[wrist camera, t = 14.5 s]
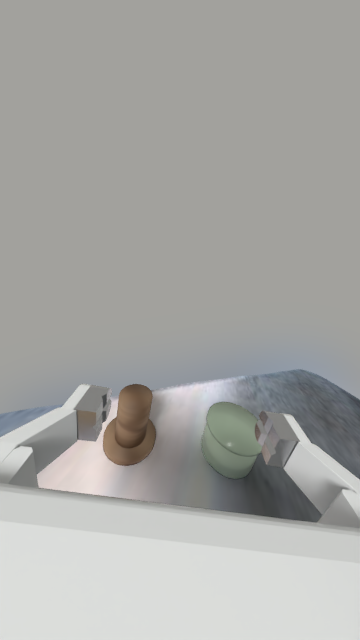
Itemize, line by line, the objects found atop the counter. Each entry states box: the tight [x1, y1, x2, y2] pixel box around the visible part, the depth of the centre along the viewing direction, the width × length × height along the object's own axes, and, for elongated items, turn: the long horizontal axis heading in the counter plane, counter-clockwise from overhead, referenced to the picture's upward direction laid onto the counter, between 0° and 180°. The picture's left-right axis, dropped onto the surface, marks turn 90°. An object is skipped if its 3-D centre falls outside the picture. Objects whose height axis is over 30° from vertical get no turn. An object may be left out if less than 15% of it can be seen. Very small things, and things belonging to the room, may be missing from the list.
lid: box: [103, 384, 156, 466], centre depth 29 cm, size 8×8×9 cm
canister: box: [201, 402, 262, 479], centre depth 31 cm, size 10×10×6 cm
